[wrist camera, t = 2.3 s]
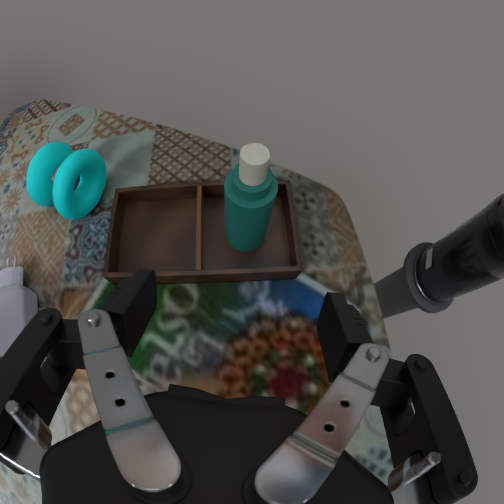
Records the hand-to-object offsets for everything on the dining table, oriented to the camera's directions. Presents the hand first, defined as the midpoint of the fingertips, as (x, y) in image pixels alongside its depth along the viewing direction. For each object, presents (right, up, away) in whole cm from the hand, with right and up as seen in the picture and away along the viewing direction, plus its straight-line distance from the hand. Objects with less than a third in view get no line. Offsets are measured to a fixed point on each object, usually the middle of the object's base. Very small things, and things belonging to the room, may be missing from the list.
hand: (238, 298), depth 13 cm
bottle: (0, +5, +23) cm, 23 cm away
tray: (-6, +4, +23) cm, 24 cm away
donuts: (-26, +11, +24) cm, 37 cm away
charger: (-34, -6, +17) cm, 39 cm away
